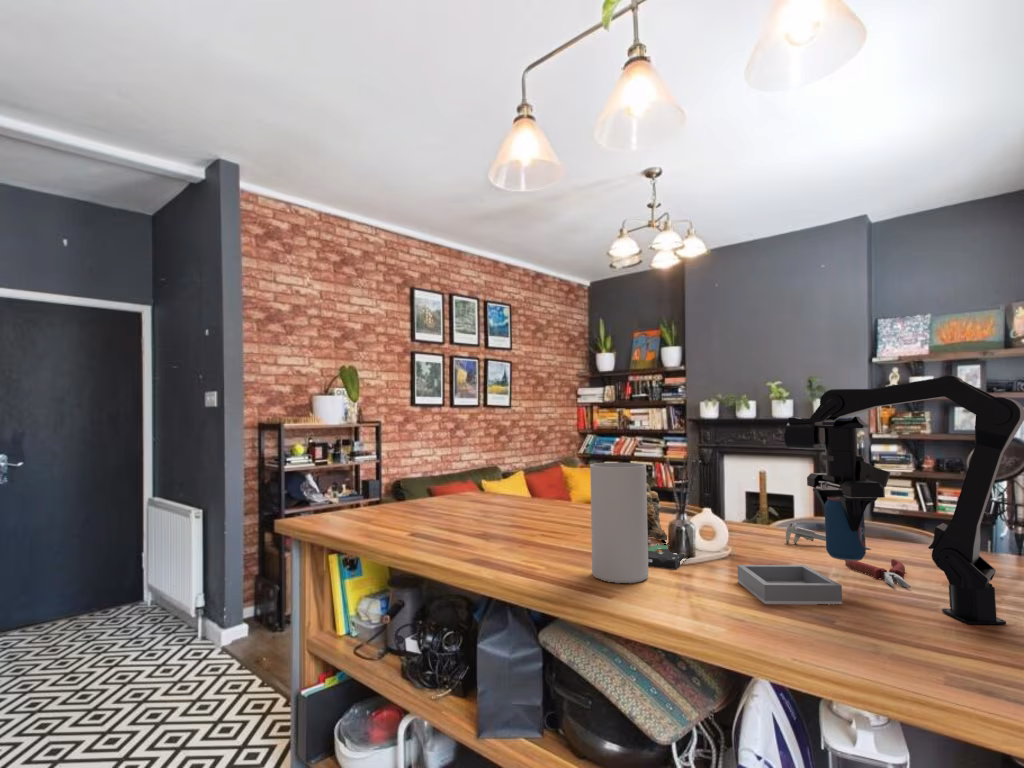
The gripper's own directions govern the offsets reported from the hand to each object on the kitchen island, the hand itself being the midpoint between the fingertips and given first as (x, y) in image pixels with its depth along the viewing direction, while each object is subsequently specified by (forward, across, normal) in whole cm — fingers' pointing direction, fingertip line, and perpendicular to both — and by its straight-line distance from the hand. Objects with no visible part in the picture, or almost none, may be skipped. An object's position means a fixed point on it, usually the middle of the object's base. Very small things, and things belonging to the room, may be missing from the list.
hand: (844, 527), depth 113 cm
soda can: (+6, 0, 0) cm, 6 cm away
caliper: (+14, +41, -16) cm, 46 cm away
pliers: (+14, +13, -13) cm, 23 cm away
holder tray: (+13, 0, +12) cm, 18 cm away
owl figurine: (+14, +46, +32) cm, 57 cm away
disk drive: (+14, +26, +31) cm, 43 cm away
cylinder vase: (+13, +10, +44) cm, 47 cm away
